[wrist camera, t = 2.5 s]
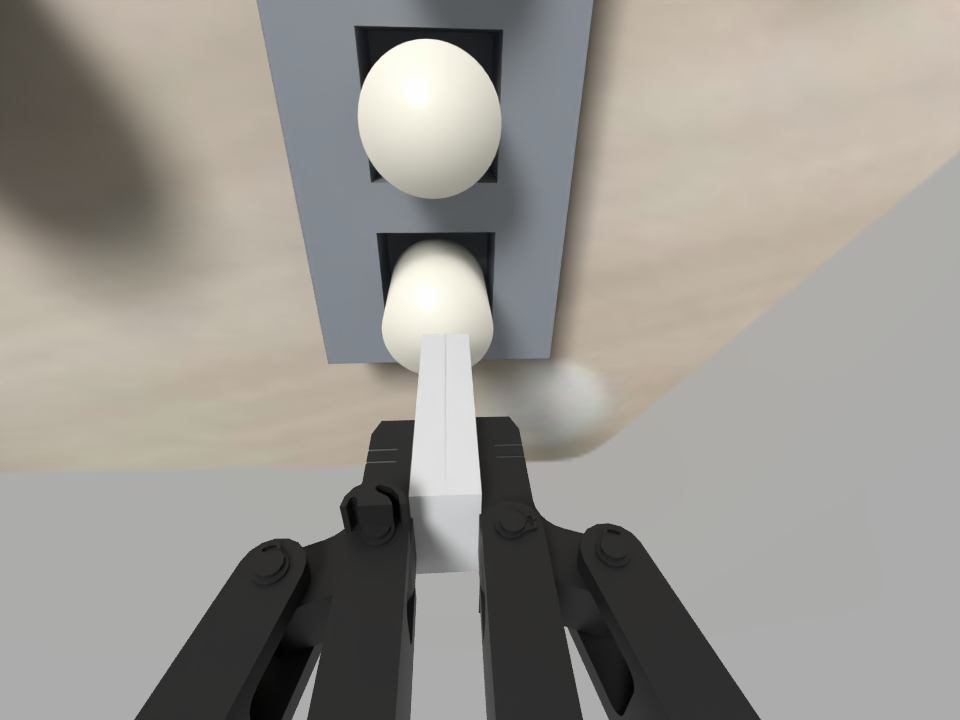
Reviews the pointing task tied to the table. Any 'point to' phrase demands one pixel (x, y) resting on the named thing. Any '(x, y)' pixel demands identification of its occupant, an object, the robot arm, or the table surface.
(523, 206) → the board
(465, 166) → the button
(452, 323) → the button
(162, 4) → the table surface
